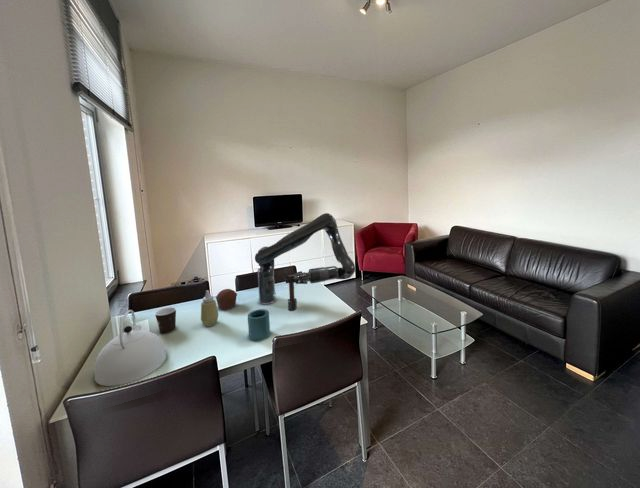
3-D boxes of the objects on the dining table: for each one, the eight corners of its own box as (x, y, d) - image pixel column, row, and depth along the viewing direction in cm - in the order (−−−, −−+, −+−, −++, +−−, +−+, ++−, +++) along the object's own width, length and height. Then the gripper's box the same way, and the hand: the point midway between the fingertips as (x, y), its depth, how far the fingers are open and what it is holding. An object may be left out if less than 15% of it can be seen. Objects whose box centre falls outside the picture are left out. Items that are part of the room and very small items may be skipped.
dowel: (287, 308, 155) (285, 274, 152) (296, 306, 157) (294, 273, 154) (288, 311, 150) (287, 277, 148) (297, 310, 152) (296, 276, 150)
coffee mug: (159, 327, 151) (157, 309, 149) (179, 324, 154) (177, 305, 153) (153, 339, 140) (151, 319, 139) (175, 335, 144) (173, 315, 142)
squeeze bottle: (211, 328, 150) (208, 294, 147) (197, 327, 151) (194, 293, 149) (222, 320, 157) (219, 288, 155) (209, 319, 159) (206, 287, 157)
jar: (248, 333, 145) (247, 311, 144) (268, 328, 149) (267, 307, 148) (249, 342, 137) (248, 320, 135) (271, 337, 141) (269, 316, 139)
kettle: (109, 354, 129) (102, 305, 126) (171, 341, 138) (166, 295, 135) (84, 393, 106) (75, 334, 103) (160, 374, 116) (154, 320, 113)
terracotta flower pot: (239, 307, 172) (238, 291, 171) (218, 313, 166) (217, 296, 164) (235, 300, 182) (234, 285, 180) (215, 305, 176) (213, 289, 174)
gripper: (315, 264, 163) (282, 268, 156) (322, 272, 151) (287, 277, 143) (315, 277, 164) (283, 282, 157) (322, 286, 152) (288, 292, 144)
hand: (285, 280), depth 150 cm, fingers closed on dowel, 2 cm apart
